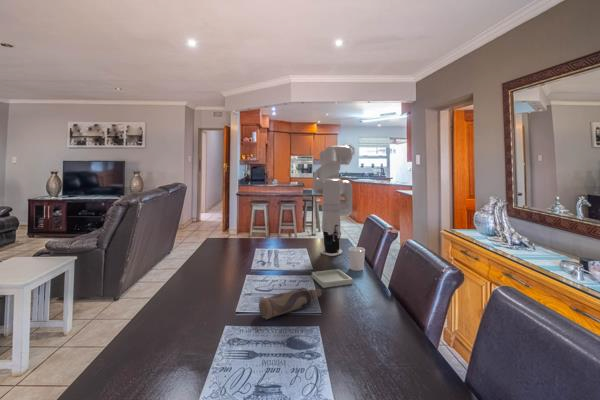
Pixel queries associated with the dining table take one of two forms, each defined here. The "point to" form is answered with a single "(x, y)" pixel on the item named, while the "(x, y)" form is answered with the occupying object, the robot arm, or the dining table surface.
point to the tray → (331, 278)
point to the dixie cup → (329, 243)
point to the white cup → (356, 258)
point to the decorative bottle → (287, 302)
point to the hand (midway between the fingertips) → (331, 247)
